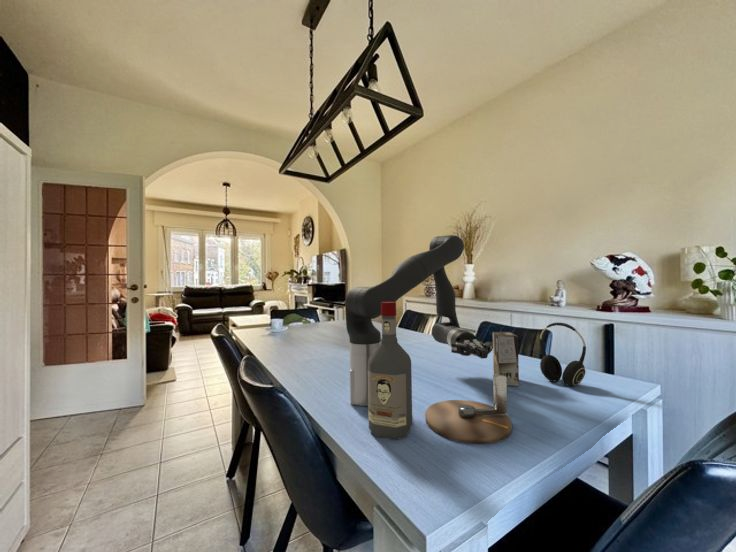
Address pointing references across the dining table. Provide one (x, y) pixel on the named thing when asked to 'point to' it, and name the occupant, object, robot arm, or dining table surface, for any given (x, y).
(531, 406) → the dining table surface
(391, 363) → the liquor
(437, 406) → the round wooden board
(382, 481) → the dining table surface
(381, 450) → the dining table surface
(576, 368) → the headphones
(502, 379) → the silver bent piece
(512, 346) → the coffee box
